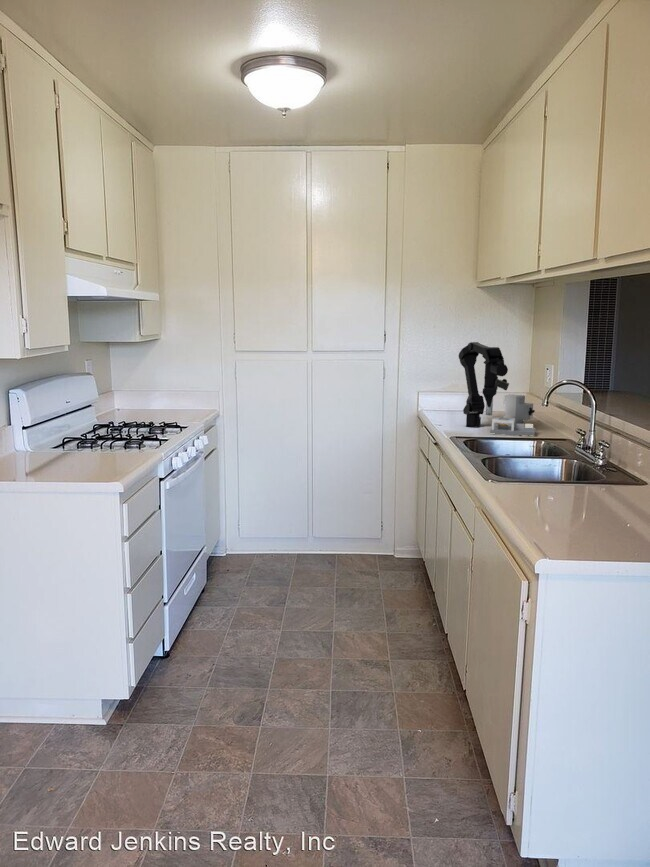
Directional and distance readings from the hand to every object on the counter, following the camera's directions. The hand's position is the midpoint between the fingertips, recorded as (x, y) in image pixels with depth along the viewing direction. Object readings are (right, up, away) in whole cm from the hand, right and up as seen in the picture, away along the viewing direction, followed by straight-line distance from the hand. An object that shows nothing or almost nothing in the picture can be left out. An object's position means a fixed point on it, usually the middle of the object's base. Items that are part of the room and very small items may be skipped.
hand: (489, 406), depth 310 cm
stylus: (0, -4, +1) cm, 4 cm away
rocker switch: (+18, -10, -3) cm, 21 cm away
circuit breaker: (+20, -9, +19) cm, 29 cm away
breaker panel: (+11, -13, -1) cm, 17 cm away
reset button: (+7, -10, 0) cm, 12 cm away
